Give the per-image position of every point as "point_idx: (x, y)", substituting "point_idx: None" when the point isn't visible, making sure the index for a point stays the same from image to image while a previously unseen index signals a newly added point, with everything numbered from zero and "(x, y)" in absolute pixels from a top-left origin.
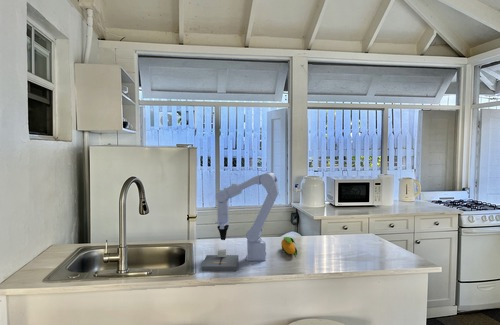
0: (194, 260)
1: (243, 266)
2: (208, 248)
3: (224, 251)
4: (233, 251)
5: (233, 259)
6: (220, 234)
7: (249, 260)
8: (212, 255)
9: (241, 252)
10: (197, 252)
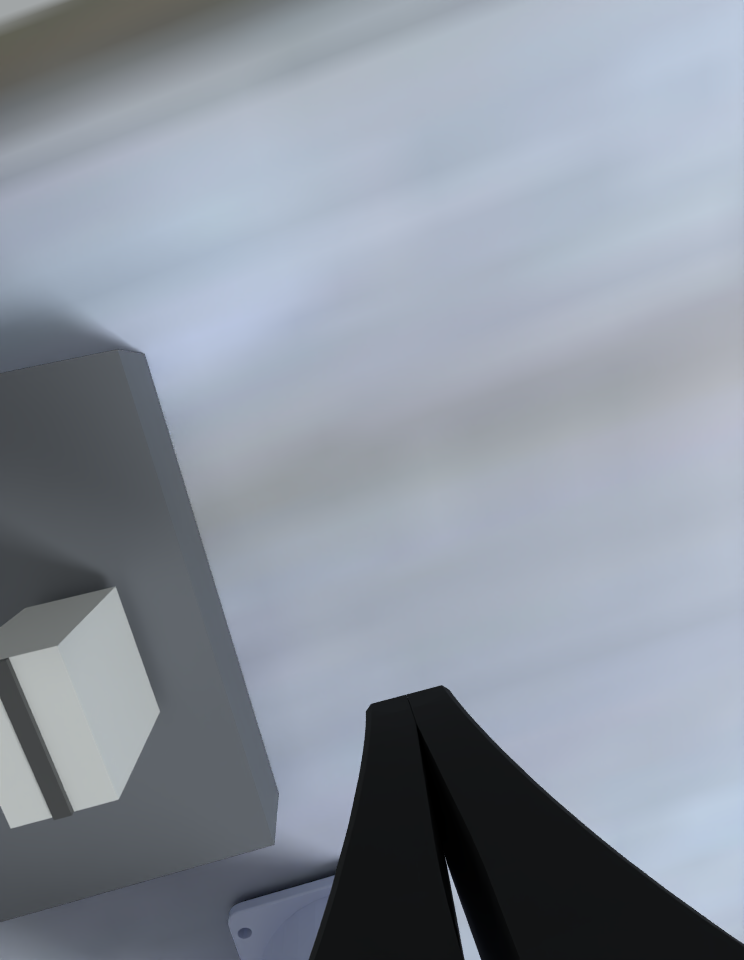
0: (4, 153)
1: (19, 930)
2: (695, 194)
3: (5, 797)
4: (583, 632)
5: (48, 849)
6: (344, 889)
7: (235, 939)
8: (130, 470)
9: (554, 742)
10: (454, 51)
